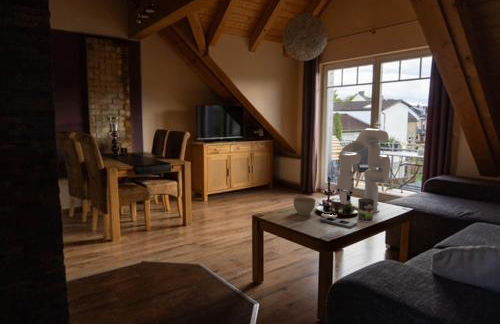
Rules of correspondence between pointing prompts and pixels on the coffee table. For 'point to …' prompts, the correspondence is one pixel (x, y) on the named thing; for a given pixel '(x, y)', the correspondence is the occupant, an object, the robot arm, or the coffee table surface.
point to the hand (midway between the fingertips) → (344, 199)
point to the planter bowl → (304, 205)
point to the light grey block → (344, 197)
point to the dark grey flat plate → (338, 222)
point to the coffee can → (365, 210)
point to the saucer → (328, 215)
